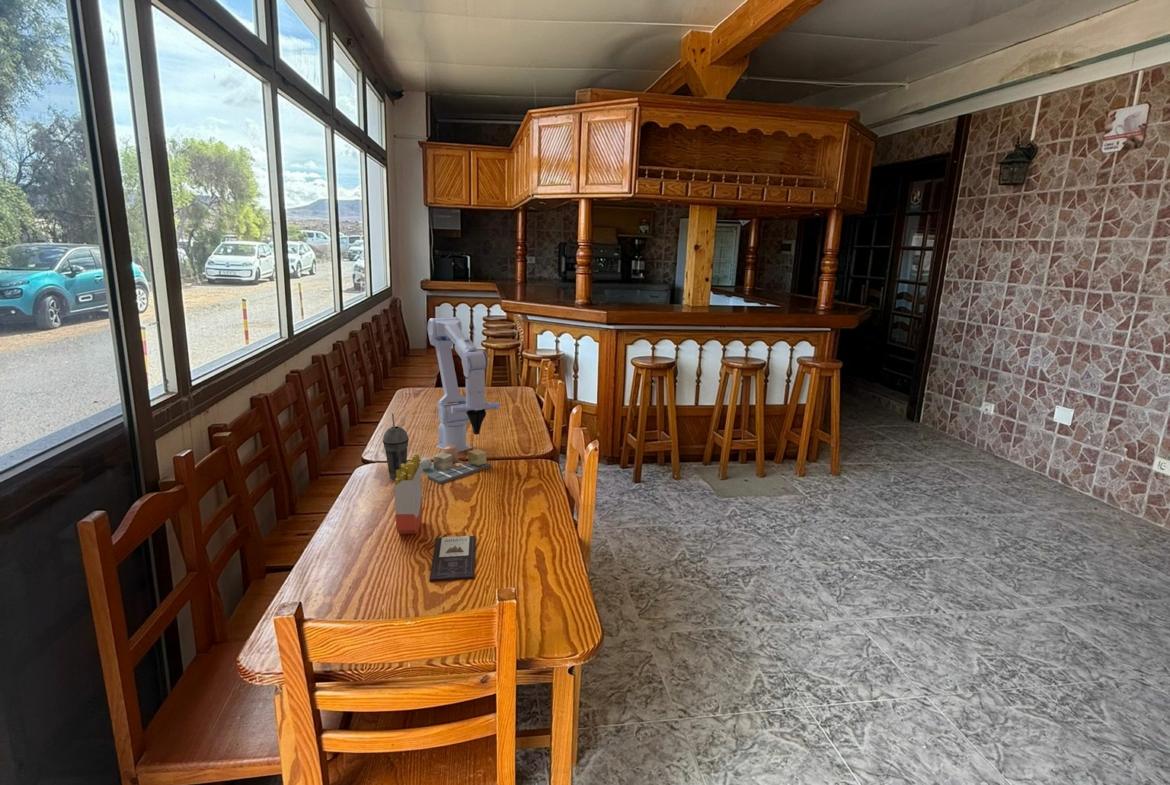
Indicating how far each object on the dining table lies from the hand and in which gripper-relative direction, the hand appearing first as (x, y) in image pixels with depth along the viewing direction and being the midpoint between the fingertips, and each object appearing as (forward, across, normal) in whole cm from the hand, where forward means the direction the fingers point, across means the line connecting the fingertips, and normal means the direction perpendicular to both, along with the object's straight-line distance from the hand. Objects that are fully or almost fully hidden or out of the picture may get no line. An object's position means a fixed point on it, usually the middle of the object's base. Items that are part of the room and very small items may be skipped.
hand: (476, 433), depth 185 cm
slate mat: (+10, -10, +2) cm, 15 cm away
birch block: (+10, -10, +1) cm, 14 cm away
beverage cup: (+11, -24, -1) cm, 26 cm away
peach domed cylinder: (+10, -7, +5) cm, 13 cm away
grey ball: (+10, -15, +2) cm, 18 cm away
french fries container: (+11, -26, -36) cm, 45 cm away
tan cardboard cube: (+9, 0, -2) cm, 9 cm away
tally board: (+10, -6, -5) cm, 13 cm away
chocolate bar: (+11, -19, -53) cm, 58 cm away
